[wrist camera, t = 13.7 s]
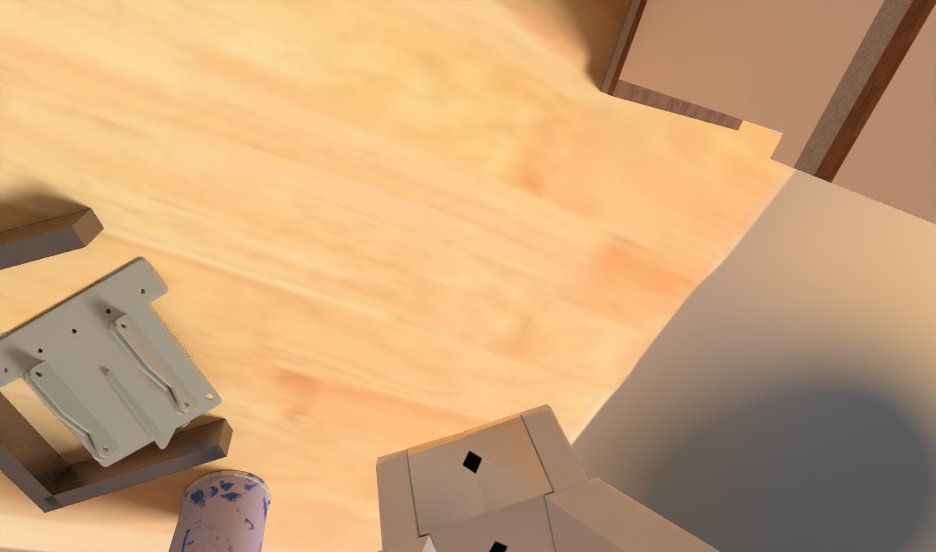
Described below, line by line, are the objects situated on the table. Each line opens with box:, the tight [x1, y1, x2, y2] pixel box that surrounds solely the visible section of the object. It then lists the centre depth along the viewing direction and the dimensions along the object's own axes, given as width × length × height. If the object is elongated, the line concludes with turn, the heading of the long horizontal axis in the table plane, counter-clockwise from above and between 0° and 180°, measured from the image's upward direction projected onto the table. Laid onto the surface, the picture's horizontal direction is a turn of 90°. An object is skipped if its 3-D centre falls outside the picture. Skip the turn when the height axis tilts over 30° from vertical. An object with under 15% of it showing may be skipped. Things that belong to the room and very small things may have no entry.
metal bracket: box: [0, 257, 222, 467], centre depth 40 cm, size 14×6×15 cm
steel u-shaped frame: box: [0, 209, 233, 513], centre depth 38 cm, size 22×15×3 cm
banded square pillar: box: [600, 0, 936, 224], centre depth 23 cm, size 11×11×35 cm
